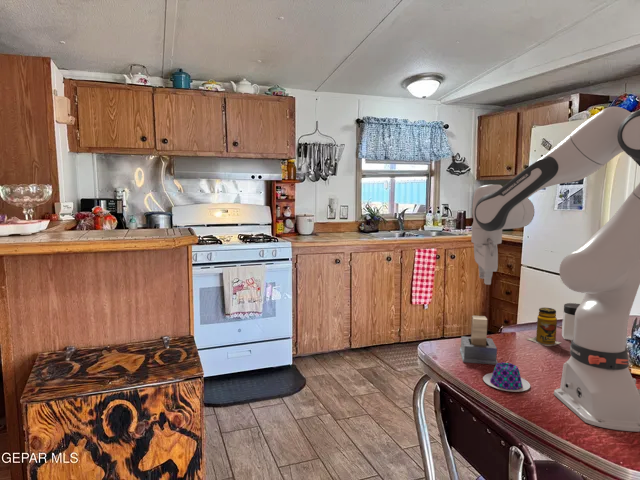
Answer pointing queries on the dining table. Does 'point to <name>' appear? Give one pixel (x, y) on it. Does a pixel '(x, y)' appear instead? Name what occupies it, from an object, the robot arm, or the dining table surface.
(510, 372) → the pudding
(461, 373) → the dining table surface
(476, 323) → the wooden peg
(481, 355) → the socket holder
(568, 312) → the jar
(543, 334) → the condiment
